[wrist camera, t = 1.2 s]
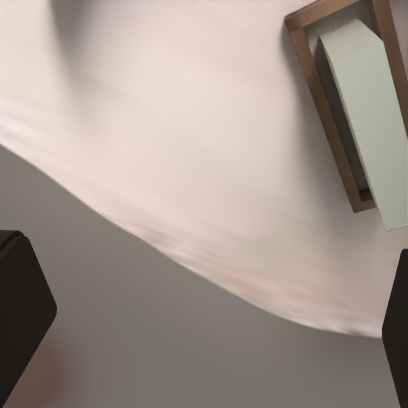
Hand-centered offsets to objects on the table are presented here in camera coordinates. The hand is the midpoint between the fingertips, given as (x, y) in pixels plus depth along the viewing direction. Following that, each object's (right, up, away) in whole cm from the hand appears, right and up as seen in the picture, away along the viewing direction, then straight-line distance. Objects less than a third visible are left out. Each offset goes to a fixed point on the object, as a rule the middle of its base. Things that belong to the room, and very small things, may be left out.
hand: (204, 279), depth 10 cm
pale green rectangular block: (+14, +11, +24) cm, 30 cm away
